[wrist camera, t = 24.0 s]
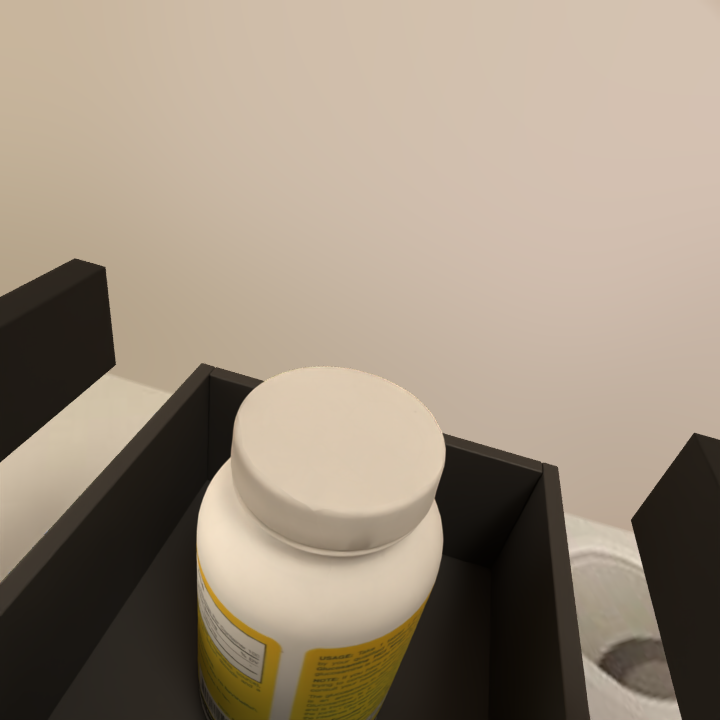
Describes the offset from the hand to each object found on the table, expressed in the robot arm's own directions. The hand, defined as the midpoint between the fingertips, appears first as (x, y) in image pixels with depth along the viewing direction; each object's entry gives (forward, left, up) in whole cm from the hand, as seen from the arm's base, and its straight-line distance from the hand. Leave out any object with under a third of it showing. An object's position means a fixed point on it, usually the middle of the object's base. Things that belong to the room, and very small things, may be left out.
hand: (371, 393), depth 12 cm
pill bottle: (0, +1, -12) cm, 12 cm away
